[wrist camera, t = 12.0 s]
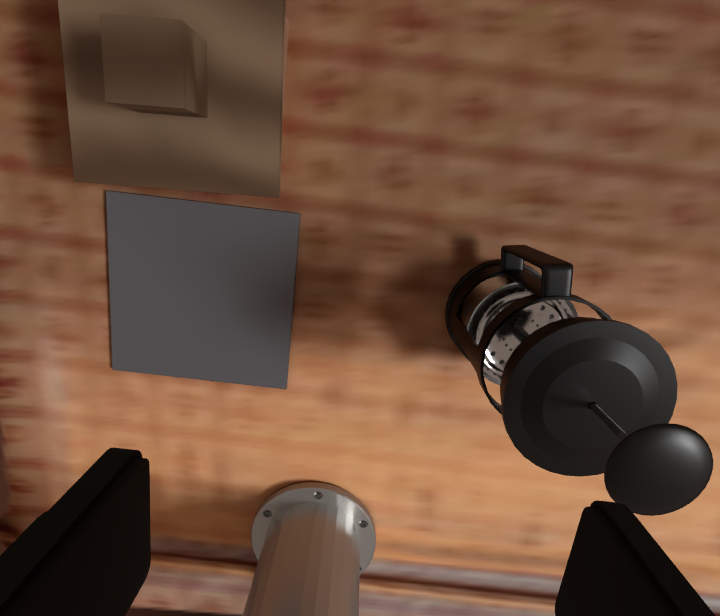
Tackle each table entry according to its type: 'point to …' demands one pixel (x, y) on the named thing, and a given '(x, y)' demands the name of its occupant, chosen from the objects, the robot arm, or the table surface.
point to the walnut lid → (175, 93)
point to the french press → (579, 385)
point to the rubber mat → (201, 289)
